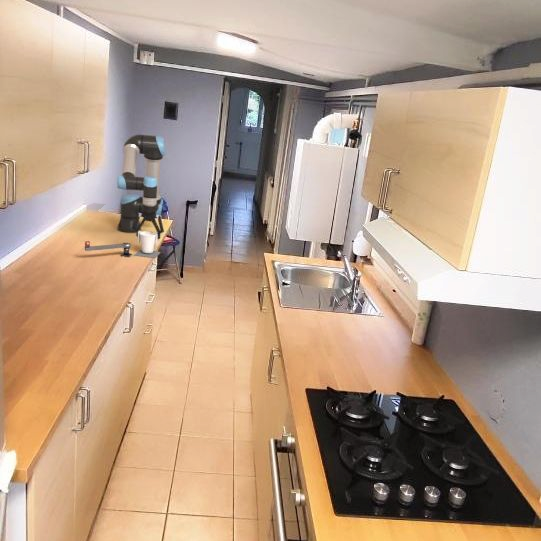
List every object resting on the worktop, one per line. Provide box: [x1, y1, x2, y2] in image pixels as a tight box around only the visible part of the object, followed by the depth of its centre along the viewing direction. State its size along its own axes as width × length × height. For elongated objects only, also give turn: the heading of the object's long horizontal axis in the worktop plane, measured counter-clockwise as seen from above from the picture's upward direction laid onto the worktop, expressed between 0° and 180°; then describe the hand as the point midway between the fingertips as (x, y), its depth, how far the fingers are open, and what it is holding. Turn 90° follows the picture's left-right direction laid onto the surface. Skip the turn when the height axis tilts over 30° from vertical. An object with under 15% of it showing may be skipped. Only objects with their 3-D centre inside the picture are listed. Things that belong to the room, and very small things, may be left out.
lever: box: [84, 240, 132, 252], centre depth 299 cm, size 4×26×5 cm, turn 130°
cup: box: [140, 230, 157, 253], centre depth 313 cm, size 10×10×11 cm
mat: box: [133, 248, 161, 259], centre depth 315 cm, size 12×12×1 cm
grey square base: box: [119, 248, 133, 258], centre depth 307 cm, size 5×5×5 cm
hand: (148, 243), depth 313 cm, fingers closed on cup, 10 cm apart
